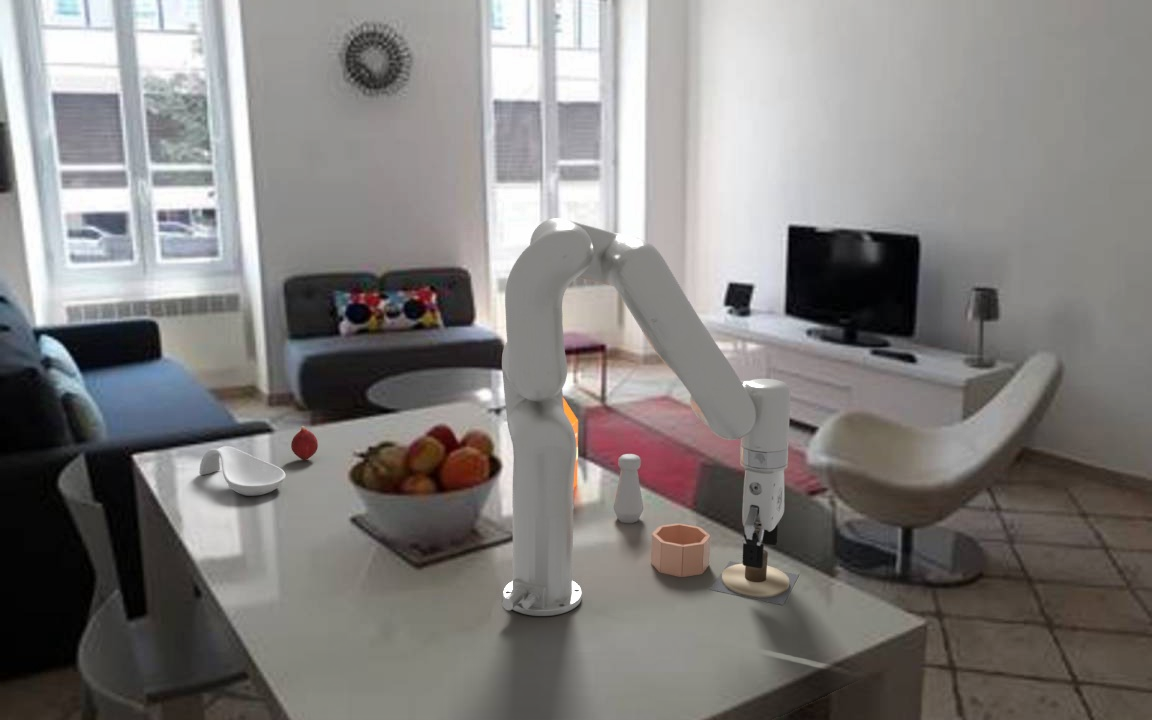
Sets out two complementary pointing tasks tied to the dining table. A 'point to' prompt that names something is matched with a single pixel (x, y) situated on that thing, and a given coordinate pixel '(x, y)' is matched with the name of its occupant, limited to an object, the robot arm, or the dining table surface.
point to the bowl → (680, 550)
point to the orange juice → (575, 427)
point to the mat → (775, 599)
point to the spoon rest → (243, 471)
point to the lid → (755, 580)
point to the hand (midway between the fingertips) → (760, 554)
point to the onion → (304, 444)
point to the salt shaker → (628, 490)
